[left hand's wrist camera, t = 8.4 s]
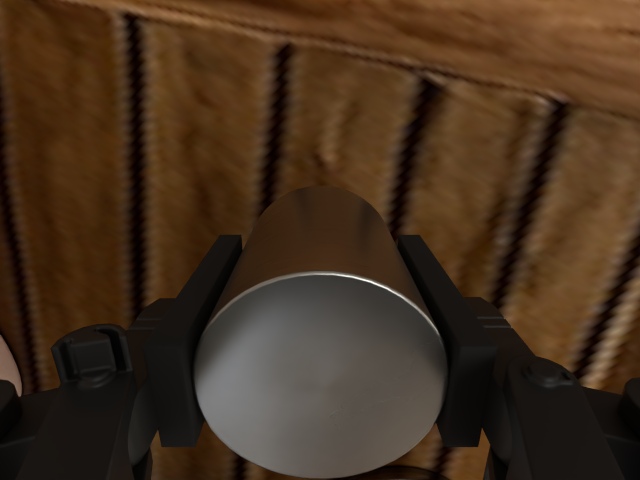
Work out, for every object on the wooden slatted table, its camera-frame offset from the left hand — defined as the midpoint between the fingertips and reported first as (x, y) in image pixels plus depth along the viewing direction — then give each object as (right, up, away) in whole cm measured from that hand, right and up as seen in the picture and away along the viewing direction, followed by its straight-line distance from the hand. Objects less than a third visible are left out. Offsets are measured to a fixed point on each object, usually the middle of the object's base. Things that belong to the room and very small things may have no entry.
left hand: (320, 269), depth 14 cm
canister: (0, 0, +1) cm, 1 cm away
